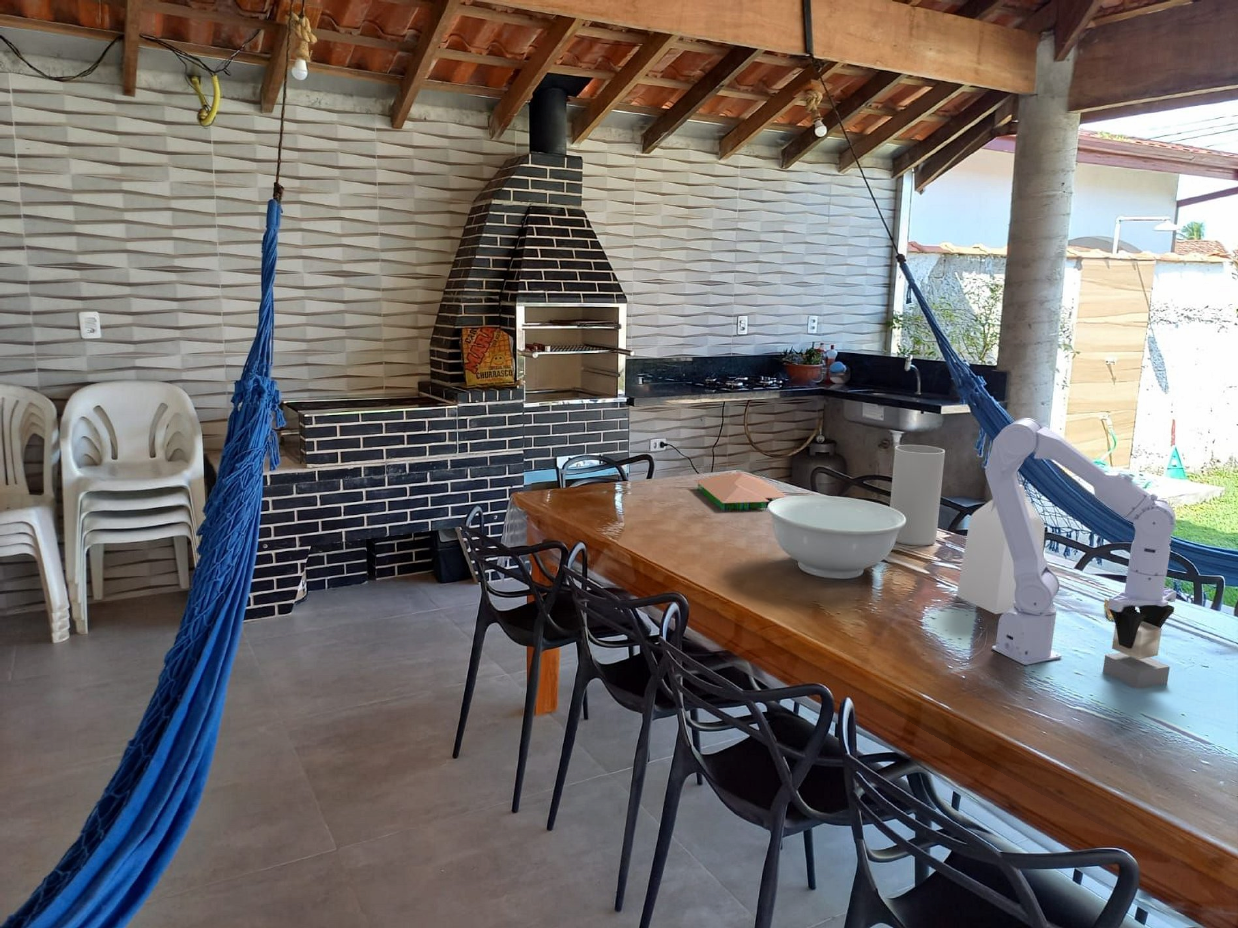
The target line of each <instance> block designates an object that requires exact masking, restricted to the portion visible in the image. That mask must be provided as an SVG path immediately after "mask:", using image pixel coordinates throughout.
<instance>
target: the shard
mask: <svg viewBox="0 0 1238 928" xmlns="http://www.w3.org/2000/svg"><path fill="white" fill-rule="evenodd" d="M1108 604H1109V599H1106V598H1104V606H1105V611H1106V615H1107V618H1108V620H1109V619H1111V620H1110V621H1112V620H1114V618H1113V616H1112V614H1111V612H1110V610H1109V608H1108ZM1138 612H1139V613H1140V611H1138Z"/></svg>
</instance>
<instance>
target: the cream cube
mask: <svg viewBox="0 0 1238 928" xmlns="http://www.w3.org/2000/svg"><path fill="white" fill-rule="evenodd" d="M1162 631H1163V628H1162V627H1161V628H1159V627H1157V626H1154V625H1151V624H1149V623H1146V622H1144V621H1142V622H1141V624H1140V626H1139V628H1138V630H1137V634H1136V638H1135V641H1134V644H1133V646H1132V648H1130V649H1128V648H1126V647H1124V646H1121V645H1119V642H1118V635H1117V629H1116V624H1115V623H1114V631H1113V638H1112V645H1111V649H1112V650H1115V651H1117V652H1118V653H1124V654H1126V655H1128V656H1131V657H1133V658H1135V659H1138V660H1139V659H1143V658H1148V657H1150V658H1152V657H1157V656H1159V650H1160V643H1161V636H1162Z"/></svg>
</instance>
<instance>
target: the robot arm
mask: <svg viewBox="0 0 1238 928" xmlns="http://www.w3.org/2000/svg"><path fill="white" fill-rule="evenodd" d="M1033 452H1034V453H1035V454H1034V456H1033V459H1036V460H1037V459H1038V460H1052V461H1055V462H1056V463H1057V464H1058V465H1060V466H1062V467H1064V468H1065V469H1066V470H1068V471H1069V472H1071V473H1072V474H1074V475H1075V476H1077V477H1078V478H1079V479H1081V480H1083V481H1084V482H1086V483H1087V484H1089V485H1090V486H1092V487H1093V493H1094V497H1095V498H1096V499H1097V500H1099V501H1100V502H1101V503H1103V504H1104V505H1105V506H1107V507H1108V508H1109V509H1111V510H1113V512H1115V513H1116V514H1117V515H1118V516H1120V517H1121V518H1123V519H1124V520H1126V521H1129V522H1132V524H1133V528H1134V530H1135V531H1134V538H1133V539H1134V540H1133V541H1132V542H1131V545H1130V553H1129V560H1128V567H1127V573H1126V580H1125V586H1124V588H1125V589H1124V590H1122V591H1121V592H1118V594H1116V595H1115V596H1111V597H1109V599H1108V601H1109V604H1108V608H1109V610H1110V612H1111V614H1112V616H1113V618H1114V625H1115V624H1116V629H1117V635H1118V642H1119V645H1121V646H1124V647H1126V648H1128V649H1130V648H1132V646H1133V644H1134V641H1135V638H1136V634H1137V630H1138V628H1139V626H1140V624H1141V622H1142V621H1144V622H1146V623H1149V624H1151V625H1154V626H1157V627H1159V628H1162V627H1163V626H1164V624H1165V622H1166V621H1167V620H1168V618H1170V616H1171V615H1172V614H1173V613H1174V612H1175V607H1174V606H1172V605H1170V604H1169V603H1175V602H1176V598H1177V591H1176V590H1173V589H1170V588H1167V587H1165V586H1166V579H1167V574H1168V567H1169V562H1170V561H1169V560H1170V555H1171V546H1170V545H1171V543H1172V536H1171V535H1172V534H1173V533H1174V531H1175V529H1176V526H1175V523H1176V513H1175V510H1174V509H1173V507H1172V506H1171V505H1170V504H1169V503H1168V502H1167V501H1166V500H1164V499H1161V498H1158V497H1159V496H1158V495H1156V494H1155V493H1151V494H1150V493H1148V492H1147V491H1146V490H1145V489H1144V488H1142V487H1141V486H1139V485H1137V484H1136V483H1135V482H1133V479H1134V477H1133V476H1132V475H1131V474H1129V473H1125V475H1124V474H1122V473H1121V472H1119V471H1116V472H1115V471H1114V472H1112V471H1111V472H1107V471H1105V470H1104V469H1102V467H1100V466H1099V465H1098V464H1096V463H1095V462H1094V461H1093V460H1091V459H1090V458H1089V457H1088V456H1086V455H1085V454H1084V453H1082V452H1081V451H1080V450H1078V449H1077V448H1076V447H1074V446H1073V445H1072V444H1071V443H1069V442H1068V441H1067V440H1066V439H1064V438H1063V437H1062V436H1060V435H1059V434H1058V433H1056V432H1055V431H1053V430H1052V429H1050V428H1049V427H1047V426H1042V424H1040V422H1038V421H1037V420H1035V419H1032V418H1030V417H1022V418H1018V419H1016V420H1014V421H1013V422H1012V423H1011V424H1008V425H1006V426H1005V427H1004V428H1003V429H1001V431H1000V432H999V433H998V434H997V435H996V437H995V438H994V439H993V441H992V447H991V450H990V453H989V456H988V460H987V462H986V466H985V469H984V473H985V478H986V480H987V483H988V486H989V489H990V494H991V496H992V499H994V502H995V506H996V509H997V512H998V515H999V518H1000V521H1001V524H1002V528H1003V531H1004V534H1005V537H1006V540H1007V543H1008V547H1009V550H1010V553H1011V556H1012V559H1013V563H1014V579H1015V583H1016V589H1015V594H1014V596H1015V602H1014V605H1013V607H1012V609H1011V610H1010V611H1008V612H1005V613H1001V615H1000V616H999V620H998V623H997V624H998V625H997V633H996V634H997V635H996V640H995V645H992V646H991V649H992V650H994V651H995V652H997V653H1000V654H1002V655H1004V656H1006V657H1007V658H1009V659H1012V660H1013V661H1016V662H1018V663H1020V664H1022V665H1025V666H1027V665H1031V664H1037V663H1042V662H1046V661H1053V660H1056V659H1061V658H1062V657H1063V655H1062V654H1061V653H1058V652H1056V651H1054V650H1053V641H1054V634H1055V632H1054V631H1055V627H1056V626H1055V625H1056V618H1057V617H1056V616H1057V607H1056V606H1055V604H1054V598H1055V597H1056V595H1057V594H1059V590H1060V587H1061V586H1060V581H1059V577H1058V576H1057V575H1056V574H1055V573H1054V572H1053V571H1052V570H1051V568H1050V566H1049V564H1048V561H1047V559H1046V558H1045V556H1044V554H1043V555H1042V554H1041V551H1040V548H1039V545H1038V542H1037V539H1036V536H1035V532H1034V529H1033V526H1032V523H1031V520H1030V517H1029V514H1028V510H1027V507H1026V504H1025V501H1024V498H1023V495H1022V492H1021V488H1020V485H1021V484H1020V482H1019V480H1018V476H1017V472H1018V470H1019V469H1020V468H1021V466H1022V464H1024V461H1025V460H1026V458H1028V456H1030V455H1031V454H1032V453H1033ZM1136 608H1138V609H1139V611H1138V610H1137V609H1136ZM1139 612H1140V613H1139Z"/></svg>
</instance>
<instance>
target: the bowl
mask: <svg viewBox="0 0 1238 928" xmlns="http://www.w3.org/2000/svg"><path fill="white" fill-rule="evenodd" d="M766 509H767V512H768V514H769V515H771V517H772V525H773V533H774V536H775V540H776V542H777V544H778V545H779V546H780V548H781V549H782V550H783V552H784V553H786V554H787V555H789V556H790V557H791V558H792V559H794V560H796V561H798V562H797V565H798V567H799V569H800V570H801V571H803V572H805V573H807V574H810V575H812V576H815V577H821V578H825V579H834V580H835V579H838V580H839V579H840V580H841V579H843V580H845V579H848V580H849V579H853V578H857V577H860V576H861V575H863V573H864V571H865V569H867V568H870V567H872V566H875V565H877V564H879V563H880V562H881V561H883V560H884V559H885V558H886V557H888V555H889V554H890V553H891V551H892V550H893V548H894V546H895V544H896V542H895V541H896V538H897V535H898V532H899V530H900V529H901V528H902V527H903V526H904V525H905V523H906V518H905V516H904V515H903V514H902V513H901V512H899V511H897V510H895V509H893V508H891V507H890V506H888V505H885V504H881V503H879V502H873V501H869V500H865V499H858V498H852V497H843V496H834V495H833V496H831V495H793V496H788V497H784V498H779V499H778V498H775V499H773V500H771V501H770V502H768V505H766Z"/></svg>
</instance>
